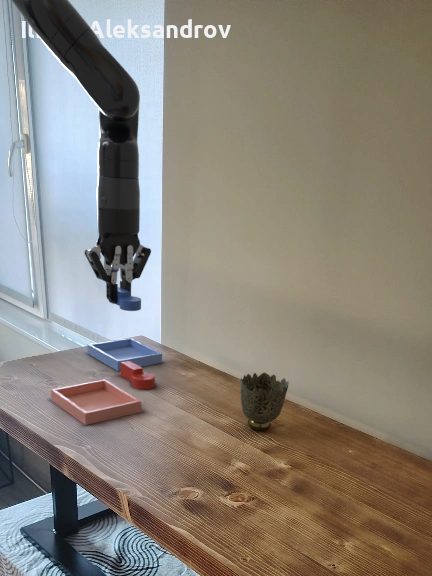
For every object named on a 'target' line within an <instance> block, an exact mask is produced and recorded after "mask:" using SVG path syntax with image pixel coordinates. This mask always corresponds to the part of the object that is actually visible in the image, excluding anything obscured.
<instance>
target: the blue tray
mask: <svg viewBox="0 0 432 576" xmlns="http://www.w3.org/2000/svg"><path fill="white" fill-rule="evenodd" d="M87 354H88V355H89V356H91V357H92V358H94V359H97V360H98V361H100V362H102V363H103V364H105V365H106V366H109V367H110V368H112V369H114V370H115V371H117V372H121V362H126V361H131V362H133V363H135V364H136V365H138V366H140V367H142V368H143V367H146V366H147V367H148V366H153V365H158V364H162V363H163V353H162V352H160V351H158V350H156V349H154V348H152V347H150V346H148V345H146V344H144V343H143V342H140V341H138V340H136V339H134V338H132V337H128V338H120V339H114V340H108V341H102V342H101V341H100V342H95V343H88V344H87Z"/></svg>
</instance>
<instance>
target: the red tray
mask: <svg viewBox="0 0 432 576" xmlns="http://www.w3.org/2000/svg"><path fill="white" fill-rule="evenodd" d="M50 399H51V400H50V401H51V402H53V403H55V404H56V405H57V406H59V407H60V408H61V409H63V410H64V411H66V412H67V414H70V416H73V417H74V418H75V419H77V420H78V421H79V422H81V423H82V424H83V425H85V426H88V425H92V424H95V423H100V422H103V421H109V420H113V419H117V418H122V417H125V416H129V415H130V416H131V415H134V414H138V413H142V400H140V399H139V398H137V397H135V396H134V395H131V394H130V393H128V392H127V391H125V390H124V389H122V388H120V387H118V386H117V385H116V384H114V383H112V382H111V381H109V380H107V379H105V378H104V379H98V380H94V381H89V382H84V383H78V384H73V385H68V386H63V387H58V388H52V389H50Z"/></svg>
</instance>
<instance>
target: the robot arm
mask: <svg viewBox="0 0 432 576" xmlns="http://www.w3.org/2000/svg"><path fill="white" fill-rule="evenodd" d="M11 2H12V3H13V4H14V6H15V7H16V9H17V10H18V12H19V13H20V14H21V16H22V17H23V18H24V19H25V21H26V22H27V24H28V25H29V26H30V29H32V31H33V32H34V33H35V35H37V37H38V38H39V39H40V40H41V42H42V43H43V44H44V45H45V46H46V48H47V49H48V50H49V51H50V52H51V54H52V55H53V56H54V57H55V59H57V61H58V62H59V63H61V65H62V66H63V68H65V69H66V70H67V71H68V72H69V73H70V74H71V75H72V76H73V77H74V78H75V79H76V80H77V82H78V83H79V85H80V86H81V87H82V89H83V90H84V91H85V92H86V94H87V95H88V96H89V98H90V99H91V100H92V101H93V103H94V104H95V105H96V106H97V107H98V126H99V128H98V129H99V141H98V148H97V174H98V175H97V186H96V202H97V203H96V208H97V209H96V210H97V211H96V214H97V215H96V217H97V231H98V238H97V240H96V245H94V246H93V247H91V248H90V249H89V248H87V249H85V250H84V256H85V258H86V259H87V261H88V263H89V265H90V267H91V269H92V271H93V274H94V275H95V277H96V278H97V279H98V280H101V281H103V282H105V287H106V288H105V289H106V293H105V295H106V299H107V300H108V302H109V303H110V304H113V305H116V304H117V291H118V287H119V288H122V289H124V290H127V291H129V292H130V296H132V282H133V281H134V280H135V279H140V277H141V276H142V274H143V271H144V269H145V267H146V265H147V262H148V260H149V258H150V256H151V254H152V249H151V248H149V247H147V246H144V245H142V244H141V241H140V238H139V232H140V219H141V216H140V215H141V214H140V212H141V211H140V209H141V208H140V207H141V205H140V203H141V190H140V181H139V179H140V172H139V171H140V153H139V145H138V139H139V138H138V136H139V119H140V102H141V95H140V90H139V87H138V85H137V83H136V81H135V80H134V78H133V77H132V76H131V75H130V73H129V72H128V71H127V70H126V68H124V67H123V66H122V64H121V63H120V62H119V61H118V60H117V59H116V58H115V57H114V56H113V55H112V54H111V53H110V52H109V50H108V49H107V48H106V47H105V46H104V45H103V43H102V42H101V40H100V39H99V36H97V34H96V32H95V31H94V30H93V28H92V27H91V26H90V25H89V23H88V22H87V21H86V20H85V19H84V17H83V16H82V15H81V14H80V12H78V11H79V10H77V9H76V8H75V6H73V4H72V3H71V1H70V0H11ZM102 257H103V263H102V261H101V259H102ZM118 272H119V274H120V275H119V276H120V277H119V278H120V280H119V285H118V283H117V282H118Z"/></svg>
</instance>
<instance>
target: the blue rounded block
mask: <svg viewBox="0 0 432 576" xmlns="http://www.w3.org/2000/svg"><path fill="white" fill-rule="evenodd" d="M115 305H117V306H119V309H120V310H121V311H127V312H138V311H141V310H142V298H141V297H139V296H134V295H131V296H130V292H129V291H127V290H124V289H122V288H120V286H118V291H117V304H115Z"/></svg>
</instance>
